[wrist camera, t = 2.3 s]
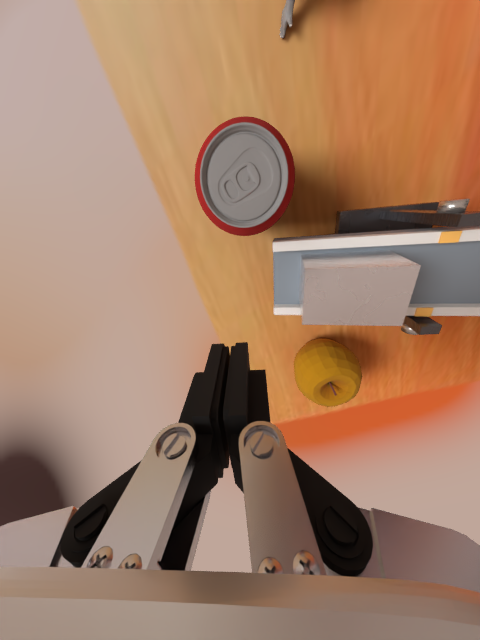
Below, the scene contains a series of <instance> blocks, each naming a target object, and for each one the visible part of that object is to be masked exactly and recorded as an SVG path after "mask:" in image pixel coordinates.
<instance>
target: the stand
mask: <svg viewBox="0 0 480 640" xmlns="http://www.w3.org/2000/svg"><path fill="white" fill-rule="evenodd" d="M469 200H470V199H455V200H443V201H440V202H431V203H420V204H410V205H399V206H389V207H378V208H368V209H357V210H347V211H337V219H336V228H335V234H347V233H362V232H377V231H392V230H407V229H422V228H432V225H438V226H448V227H457V228H458V227H470V226H480V212H468V211H466V208H467V205H468V203H469ZM441 327H442V325H440V324H438V323H437V322H435V321H434V320H432V319H430V318H429V317H424V316H405V319H404V322H403V326H401V330H402V331H403V332H405V333H408V334H412V335H418V334H419V335H424V334H439V332H440V329H441Z"/></svg>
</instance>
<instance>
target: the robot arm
mask: <svg viewBox="0 0 480 640" xmlns="http://www.w3.org/2000/svg"><path fill="white" fill-rule="evenodd" d="M229 456H230V460H231V465H232V468H233V473H234V478H235V483H236V484H237V486H238V487H239V488H240V489H241V491H242V492H243V493H244V499H245V509H246V518H247V528H248V537H249V546H250V555H251V564H252V573H241V572H210V571H209V572H208V571H191V567H192V563H193V559H194V556H195V552H196V548H197V544H198V541H199V537H200V533H201V529H202V525H203V521H204V517H205V514H206V510H207V506H208V502H209V499H210V492H211V489H212V488H213V487H214V486H215V485H216V484H217V483H218V478H222V477H223V469H224V468H228V466H229ZM0 640H480V545H478V544H477V543H475V542H474V541H473V540H471V539H470V538H469V537H467V536H466V535H464V534H461V533H459V532H457V531H454V530H452V529H448V528H445V527H441V526H437V525H434V524H430V523H426V522H422V521H419V520H415V519H411V518H407V517H404V516H400V515H396V514H392V513H389V512H385V511H382V510H378V509H374V508H371V511H369V510H366V509H362V508H358V507H356V505H355V504H354V503H353V502H352V501H350V500H349V499H348V498H347V497H346V496H344V495H343V494H342V493H341V492H340V491H338V490H337V489H336V488H335V487H334V486H332V485H331V484H330V483H329V482H328V481H326V480H325V479H324V478H323V477H322V476H320V475H319V474H318V473H317V472H316V471H315V470H313V469H312V468H311V467H309V465H307V464H306V463H305V462H304V461H303V460H301V459H300V458H299V457H298V456H297V455H295V454H294V453H293V452H292V451H291V450H289V449H288V448H287V446H286V443H285V439H284V436H283V435H282V433H281V431H280V430H279V429H278V428H277V427H276V426H275V425H273V424H272V423H270V414H269V403H268V393H267V383H266V373H265V370H250V365H249V353H248V343H247V342H245V343H236V346H232V347H231V354H230V353H229V347H228V346H227V347H225V346H224V344H212V346H211V350H210V353H209V356H208V360H207V364H206V367H205V371H204V372H199V373H195V375H194V377H193V381H192V383H191V387H190V389H189V393H188V396H187V398H186V402H185V405H184V407H183V410H182V413H181V416H180V419H179V423H175V424H172V425H169V426H167V427H166V428H164V429H163V430H161V432H159V433H158V434H157V436H156V437H155V438H154V440H153V441H152V443H151V445H150V447H149V449H148V450H147V452H146V454H145V456H144V457H143V459H142V461H140V462H139V463H137V464H136V465H135V466H133V467H132V468H131V469H130V470H128V471H127V472H125V473H124V474H123V475H121V476H120V477H119V478H118V479H116V480H115V481H113V482H112V483H111V484H109V485H108V486H107V487H105V488H104V489H103V490H101V491H100V492H99V493H97V494H96V495H95V496H93V497H92V498H91V499H89V500H88V501H87V502H86V503H85V504H84V505H82V506H81V507H80V508H75V507H74V506H71V507H67V508H64V509H60V510H56V511H52V512H49V513H45V514H41V515H38V516H34V517H30V518H26V519H23V520H19V521H15V522H11V523H8V524H5V525H3V526H1V527H0Z"/></svg>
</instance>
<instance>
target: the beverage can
mask: <svg viewBox="0 0 480 640" xmlns="http://www.w3.org/2000/svg"><path fill="white" fill-rule="evenodd" d="M294 182H295V168H294V162H293V157H292V154H291V151H290V149H289V146H288V144H287V143H286V141H285V139H284V138H283V136H282V135H281V134H280V133H279V132H278V131H277V130H276V129H275V128H274V127H273V126H272V125H270V124H269V123H267V122H265V121H263V120H261V119H258V118H254V117H237V118H233V119H230V120H228V121H226V122H224V123H222V124H221V125H219V126H218V127H217V128H215V129H214V130H213V131H212V132H211V134H210V135H209V136H208V137H207V139H206V140H205V142H204V143H203V145H202V147H201V149H200V152H199V155H198V158H197V162H196V168H195V186H196V192H197V196H198V199H199V202H200V204H201V206H202V209H203V210H204V212H205V214H206V215H207V216H208V218H209V219H210V220H211V221H212V222H213V223H214V224H215V225H216V226H218V227H219V228H220V229H222V230H224V231H226V232H228V233H230V234H234V235H240V236H249V235H254V234H258V233H261V232H263V231H265V230H267V229H268V228H270V227H271V226H272V225H274V224H275V223H276V222H277V221H278V220H279V219H280V217H281V216H282V215H283V213H284V212H285V210H286V209H287V207H288V205H289V202H290V200H291V197H292V193H293V189H294Z"/></svg>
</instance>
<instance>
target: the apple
mask: <svg viewBox="0 0 480 640" xmlns="http://www.w3.org/2000/svg"><path fill="white" fill-rule="evenodd" d="M294 372H295V380H296V383H297V386H298V388H299V390H300V391H301V392H302V393H303V395H304V396H306V397H307V398H308V399H309V400H311V401H313V402H315V403H316V404H318V405H322V406H326V407H332V406H337V405H340V404H343V403H346V402H348V401H349V400H351V399H352V398H354V397H355V396H356V394H357V393H358V391H359V388H360V384H361V379H362V373H361V367H360V364H359V361H358V359H357V358H356V356H355V355H354V354H353V352H352V351H350V350H349V349H348V348H347V347H346V346H344V345H342V344H340V343H338V342H336V341H334V340H330V339H321V338H319V339H314V340H311V341H309V342H307V343H306V344H305V345H304V346H303V347H302V348H301V349H300V350H299V352H298V353H297V355H296V357H295V360H294Z"/></svg>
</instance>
